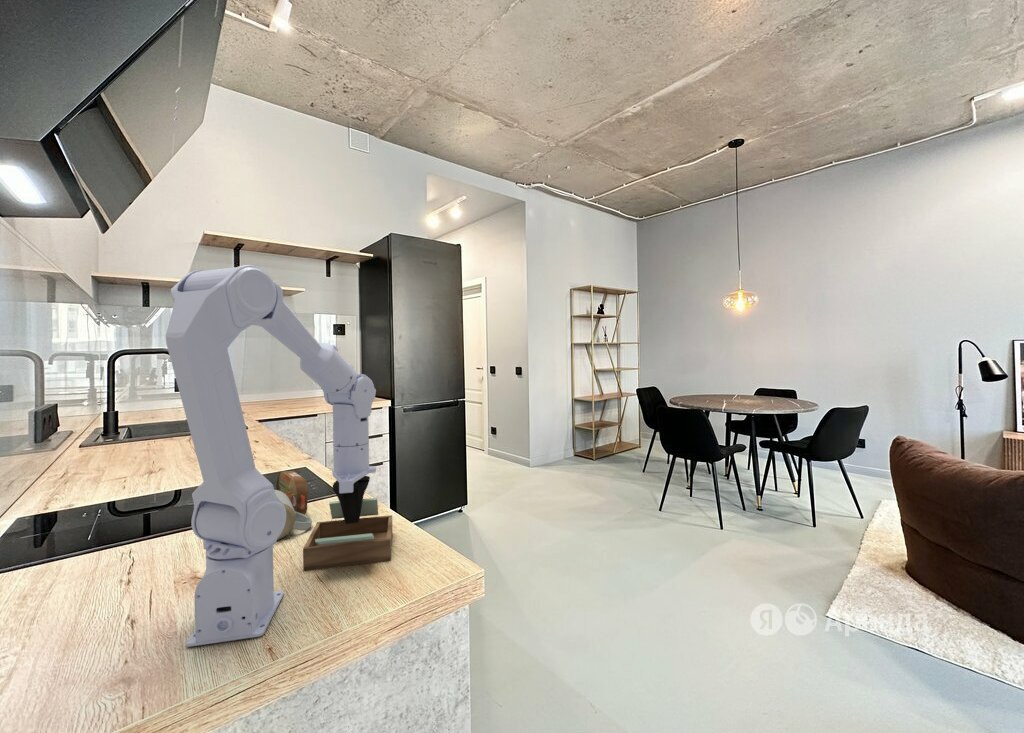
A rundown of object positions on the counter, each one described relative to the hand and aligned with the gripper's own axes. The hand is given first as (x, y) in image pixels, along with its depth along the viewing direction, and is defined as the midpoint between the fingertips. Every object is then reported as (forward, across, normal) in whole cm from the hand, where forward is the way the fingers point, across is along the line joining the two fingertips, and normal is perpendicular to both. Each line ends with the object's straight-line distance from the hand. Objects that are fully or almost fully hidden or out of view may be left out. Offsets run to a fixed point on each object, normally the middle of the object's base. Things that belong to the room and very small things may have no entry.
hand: (352, 521), depth 74 cm
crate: (+5, -1, 0) cm, 5 cm away
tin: (+5, +21, +14) cm, 26 cm away
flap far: (-1, +3, 0) cm, 4 cm away
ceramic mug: (+5, +10, +14) cm, 18 cm away
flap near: (-1, -8, 0) cm, 8 cm away
